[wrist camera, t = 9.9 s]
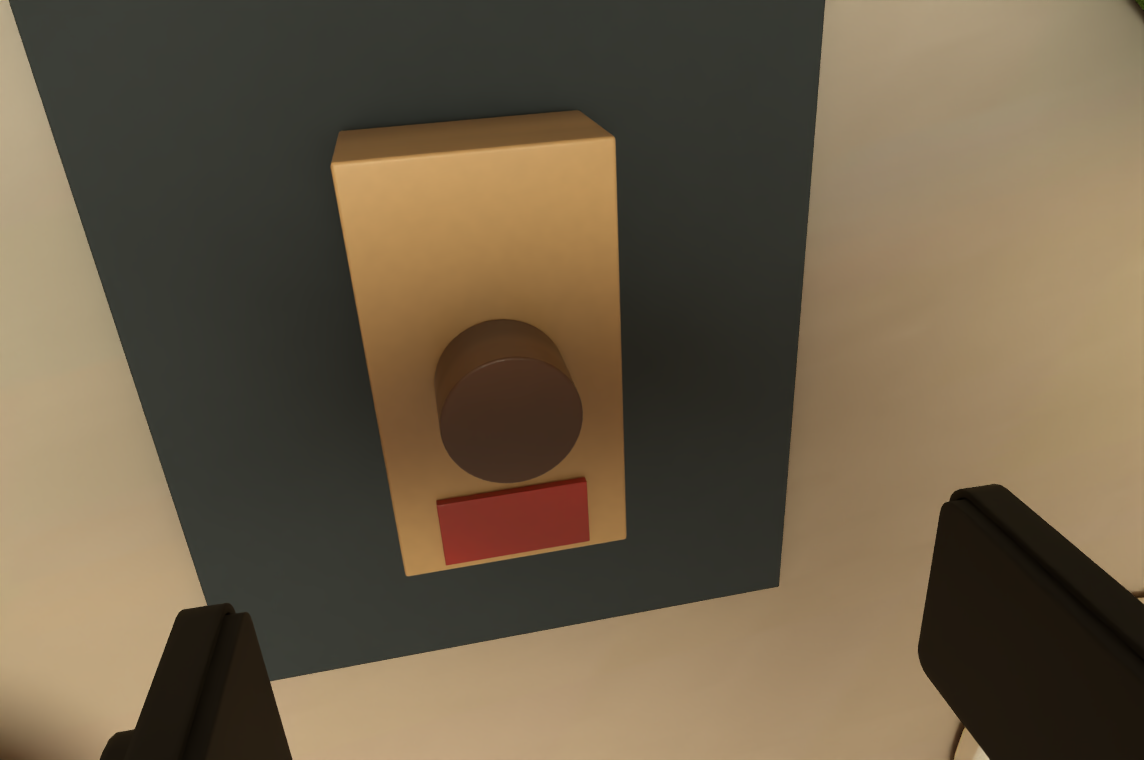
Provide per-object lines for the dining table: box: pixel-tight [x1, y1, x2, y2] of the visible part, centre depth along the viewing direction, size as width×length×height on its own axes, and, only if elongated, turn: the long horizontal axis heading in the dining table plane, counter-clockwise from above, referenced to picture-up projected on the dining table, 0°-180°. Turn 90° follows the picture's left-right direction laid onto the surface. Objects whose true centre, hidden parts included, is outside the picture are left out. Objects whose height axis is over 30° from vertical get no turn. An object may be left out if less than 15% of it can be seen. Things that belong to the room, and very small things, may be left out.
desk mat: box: [9, 0, 825, 681], centre depth 20 cm, size 20×16×1 cm
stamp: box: [330, 110, 626, 576], centre depth 17 cm, size 9×5×5 cm, turn 3°
